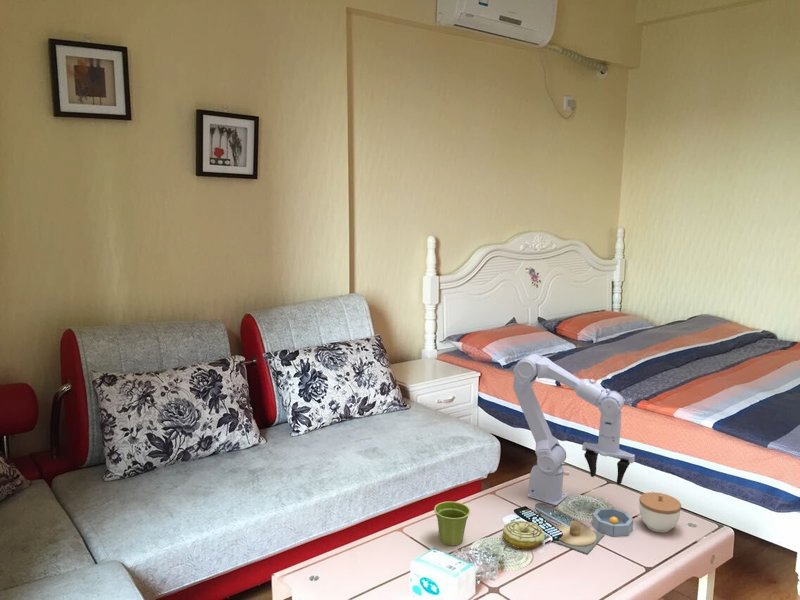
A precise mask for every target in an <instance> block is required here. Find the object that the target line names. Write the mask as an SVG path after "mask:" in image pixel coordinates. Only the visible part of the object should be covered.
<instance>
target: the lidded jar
mask: <svg viewBox="0 0 800 600" xmlns="http://www.w3.org/2000/svg"><path fill="white" fill-rule="evenodd" d="M638 506H639V507H638V509H639V516H640V519H641V520H642V522H643V523H644V525H645V526H646V527H647V529H649V530H650V531H653V532H656V533H659V534H660V533H661V534H662V533H668V532H669V531H671V530H672V529H674V528H675V526H677V524H678V523H679V522H678V521H679V519H680V515H681V510H682V504H681V502H680V500H678V499H677V498H675V497H674V496H671V495H669V494H666V493H662V492H655V491H654V492H645V493H642V494H641V495H640V496H639V505H638Z"/></svg>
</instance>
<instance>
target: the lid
mask: <svg viewBox="0 0 800 600" xmlns="http://www.w3.org/2000/svg"><path fill="white" fill-rule="evenodd" d="M569 522H570V528H569V527H567V526H565V525H563V524H560V525H558V524H557V525H558V526H557V525H556V526H555V527H556V528H558V529H559V530H560V531H562V533H563V536H562V537H561V538H559V541H561V542H563V543H565V544H568V545H571V546H578V547H583V546H589V545H592V544H593V543H595V541H596V534H595V533H594V531H595V530H594V531H592V530H593V529H591V528H589V527H588V526H586V525H583V524H582V523H581V522H580V521H578V520H571V521H569ZM581 526H582V527H581Z"/></svg>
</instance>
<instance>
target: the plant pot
mask: <svg viewBox="0 0 800 600" xmlns="http://www.w3.org/2000/svg"><path fill="white" fill-rule="evenodd" d="M433 511H434V513H435V516H436V520H437V525H438V526H437V527H438V528H437V529H438V534H439V536H438V537H439V541H440V542H441V543H442V544H444V545H447V546H455V545H456V546H458V545H461V544H462V543H463V540H464V535H465V529H466V525H467V520H468V518H469V516H470V515H471V509H470V508H469V506H467V505H466V504H465V503H463V502H462V503H461V502H457V501H443V502H440V503H437V504H436V505H435V506H434V510H433Z"/></svg>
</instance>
